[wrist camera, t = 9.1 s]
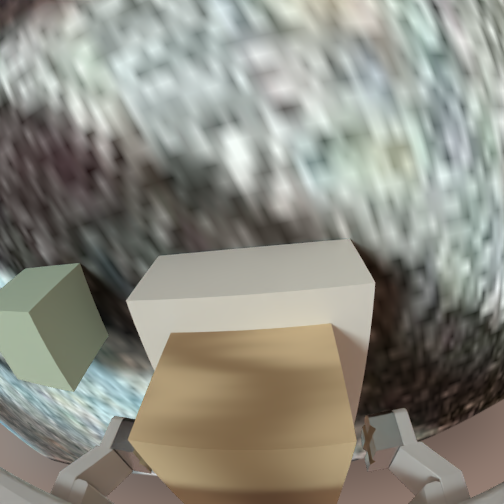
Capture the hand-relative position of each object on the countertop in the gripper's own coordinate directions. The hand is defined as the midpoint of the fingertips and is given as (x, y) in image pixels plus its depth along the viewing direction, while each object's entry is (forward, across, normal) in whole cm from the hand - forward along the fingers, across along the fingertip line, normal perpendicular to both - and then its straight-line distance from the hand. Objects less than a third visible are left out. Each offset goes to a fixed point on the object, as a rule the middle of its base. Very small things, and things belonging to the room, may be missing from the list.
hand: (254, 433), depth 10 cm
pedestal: (+7, 0, 0) cm, 7 cm away
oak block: (+3, 0, 0) cm, 3 cm away
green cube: (+7, +12, -2) cm, 14 cm away
